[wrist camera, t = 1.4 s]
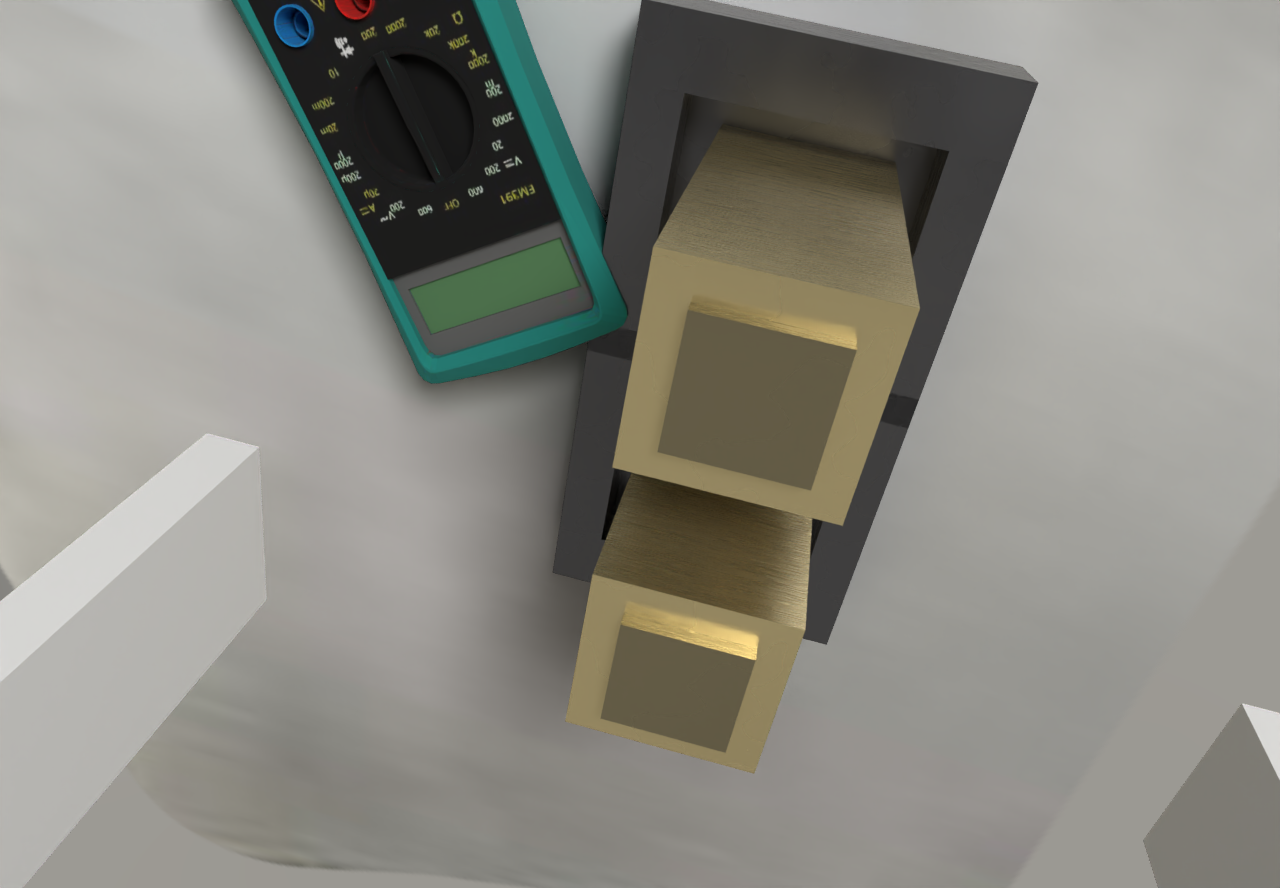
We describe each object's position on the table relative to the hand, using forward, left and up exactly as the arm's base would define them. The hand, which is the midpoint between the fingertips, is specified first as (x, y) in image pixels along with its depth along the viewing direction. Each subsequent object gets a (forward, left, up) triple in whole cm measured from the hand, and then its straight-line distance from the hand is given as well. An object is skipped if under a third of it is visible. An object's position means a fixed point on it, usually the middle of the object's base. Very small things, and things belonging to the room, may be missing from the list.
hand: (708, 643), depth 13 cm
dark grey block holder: (+4, 0, -19) cm, 19 cm away
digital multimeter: (-1, -11, -18) cm, 21 cm away
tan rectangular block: (0, 0, -18) cm, 18 cm away
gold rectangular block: (+8, 0, -18) cm, 20 cm away
